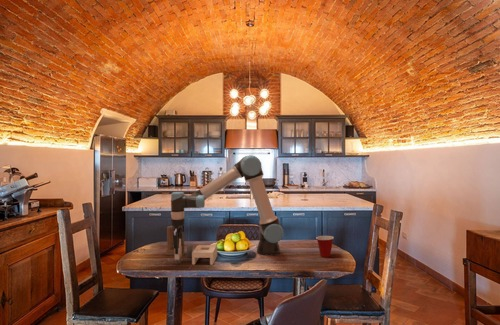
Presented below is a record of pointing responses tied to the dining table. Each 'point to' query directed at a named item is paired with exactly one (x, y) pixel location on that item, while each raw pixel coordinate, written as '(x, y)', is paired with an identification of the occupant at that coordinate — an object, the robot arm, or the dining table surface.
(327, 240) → the plastic cup
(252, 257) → the dining table surface
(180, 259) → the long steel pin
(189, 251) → the short charcoal pin
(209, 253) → the bridge
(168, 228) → the brown wooden bracket
